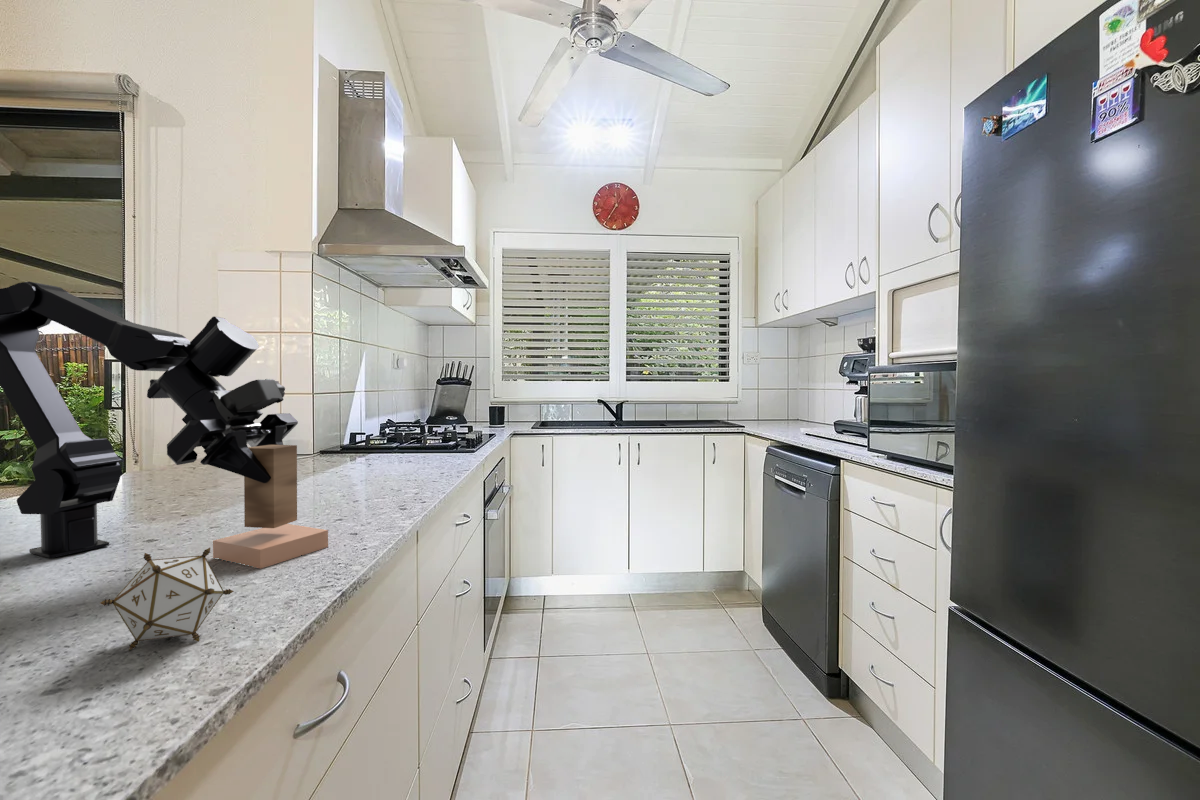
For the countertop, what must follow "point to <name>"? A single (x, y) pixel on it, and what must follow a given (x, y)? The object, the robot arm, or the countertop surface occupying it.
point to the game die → (168, 598)
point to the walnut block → (272, 488)
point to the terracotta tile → (270, 545)
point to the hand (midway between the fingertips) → (280, 477)
